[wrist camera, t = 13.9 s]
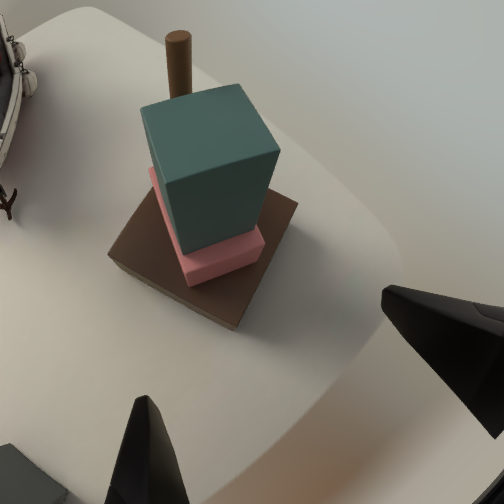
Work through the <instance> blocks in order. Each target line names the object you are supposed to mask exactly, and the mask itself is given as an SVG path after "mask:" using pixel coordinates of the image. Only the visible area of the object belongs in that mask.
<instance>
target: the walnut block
mask: <svg viewBox="0 0 504 504" xmlns="http://www.w3.org/2000/svg"><path fill="white" fill-rule="evenodd" d="M297 206H298V203H297V202H295V201H293V200H291V199H289V198H287V197H285V196H283V195H281V194H279V193H277V192H275V191H273V190H271V189H269V188H268V190H267V193H266V196H265V199H264V202H263V205H262V208H261V211H260V214H259V217H258V220H257V223H256V225H257V227H258V229H259V231H260V233H261V235H262V237H263V240H264V242H265V245H264V248H263V250H262V252H261V254H260V256H259V258H258V260H257V262H254V263H252V264H249V265H247V266H244V267H242V268H239V269H236V270H234V271H231V272H229V273H226V274H223V275H221V276H218V277H216V278H213V279H210V280H208V281H205V282H203V283H200V284H197V285H195V286H192V287H189V286H188V284H187V281H186V278H185V276H184V273H183V270H182V268H181V265H180V262H179V260H178V257H177V254H176V252H175V249H174V246H173V243H172V241H171V238H170V235H169V232H168V229H167V226H166V223H165V221H164V218H163V215H162V212H161V209H160V206H159V203H158V200H157V197H156V194H155V190H154V187H152V188H151V190H150V191H149V193H148V194H147V195H146V197H145V198H144V200H143V201H142V202H141V204H140V205H139V207H138V208H137V210H136V211H135V212H134V214H133V215H132V217H131V218H130V220H129V221H128V223H127V224H126V226H125V227H124V229H123V230H122V232H121V233H120V235H119V236H118V238H117V240H116V241H115V243H114V244H113V246H112V247H111V249H110V251H109V252H108V254H107V255H108V256H109V257H110V258H111V259H112V260H113V261H114V262H115V263H116V264H117V265H118V266H119V267H120V268H121V269H122V270H124V271H126V272H127V273H129V274H131V275H132V276H134V277H136V278H137V279H139V280H141V281H142V282H144V283H146V284H147V285H149V286H151V287H153V288H154V289H156V290H158V291H159V292H161V293H163V294H165V295H166V296H168V297H170V298H172V299H174V300H175V301H177V302H179V303H181V304H183V305H184V306H186V307H188V308H190V309H192V310H193V311H195V312H197V313H199V314H201V315H203V316H205V317H207V318H208V319H210V320H212V321H214V322H216V323H218V324H220V325H222V326H224V327H226V328H228V329H230V330H232V331H234V330H235V329H236V327H237V326H238V324H239V322H240V320H241V318H242V316H243V314H244V312H245V310H246V308H247V306H248V304H249V303H250V301H251V299H252V297H253V295H254V293H255V291H256V289H257V287H258V285H259V283H260V281H261V279H262V277H263V275H264V273H265V271H266V269H267V267H268V265H269V263H270V261H271V259H272V257H273V255H274V253H275V251H276V249H277V247H278V245H279V242H280V240H281V238H282V236H283V234H284V232H285V230H286V228H287V226H288V224H289V222H290V220H291V218H292V216H293V214H294V212H295V210H296V208H297Z"/></svg>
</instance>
